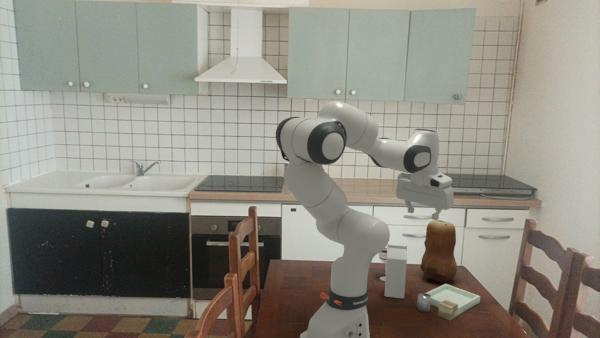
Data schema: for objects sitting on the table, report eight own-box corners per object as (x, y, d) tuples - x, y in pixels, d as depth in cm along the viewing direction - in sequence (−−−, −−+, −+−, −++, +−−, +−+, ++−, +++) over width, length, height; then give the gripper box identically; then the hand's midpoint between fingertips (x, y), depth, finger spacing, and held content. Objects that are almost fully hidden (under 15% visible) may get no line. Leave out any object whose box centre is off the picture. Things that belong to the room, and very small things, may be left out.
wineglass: (393, 276, 181) (395, 248, 180) (394, 282, 175) (396, 254, 173) (377, 274, 182) (378, 247, 180) (377, 281, 176) (379, 252, 174)
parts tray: (457, 315, 149) (457, 308, 148) (421, 301, 159) (422, 294, 159) (479, 302, 159) (480, 296, 159) (445, 289, 169) (445, 283, 169)
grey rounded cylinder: (425, 313, 150) (426, 299, 149) (414, 308, 153) (415, 295, 152) (432, 309, 153) (433, 296, 152) (421, 305, 156) (422, 291, 155)
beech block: (450, 320, 145) (451, 308, 144) (438, 315, 148) (439, 303, 148) (457, 316, 148) (458, 304, 147) (445, 311, 151) (446, 299, 151)
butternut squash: (451, 275, 184) (455, 217, 181) (459, 288, 171) (464, 226, 167) (417, 272, 186) (421, 215, 182) (423, 285, 173) (427, 224, 169)
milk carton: (404, 299, 160) (407, 249, 157) (384, 296, 162) (387, 247, 159) (403, 291, 167) (406, 243, 164) (384, 289, 169) (387, 241, 166)
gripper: (392, 173, 150) (391, 211, 154) (446, 184, 136) (444, 225, 139) (403, 170, 155) (402, 206, 158) (457, 180, 140) (454, 220, 143)
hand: (422, 215), depth 148 cm, fingers open, 8 cm apart
